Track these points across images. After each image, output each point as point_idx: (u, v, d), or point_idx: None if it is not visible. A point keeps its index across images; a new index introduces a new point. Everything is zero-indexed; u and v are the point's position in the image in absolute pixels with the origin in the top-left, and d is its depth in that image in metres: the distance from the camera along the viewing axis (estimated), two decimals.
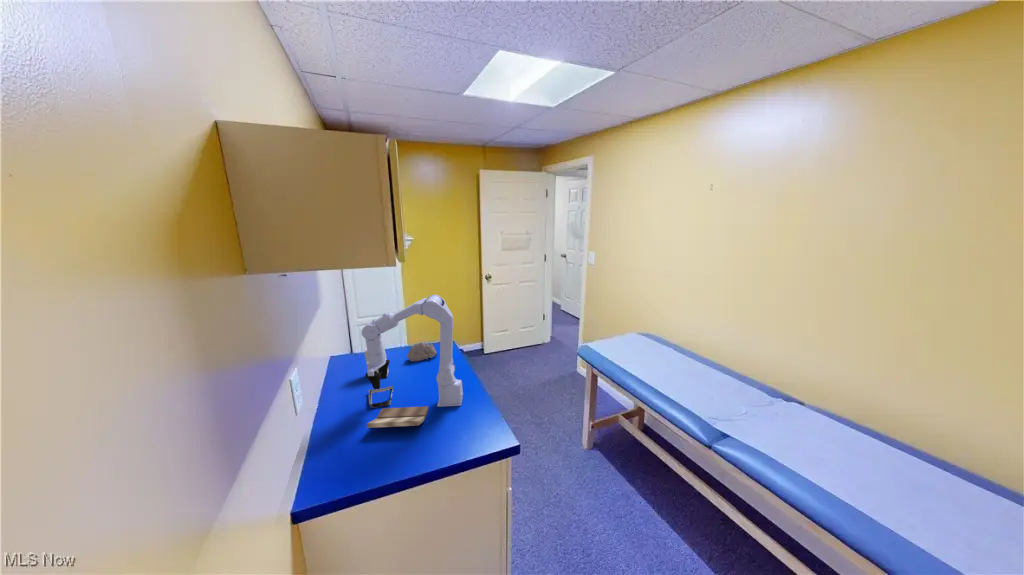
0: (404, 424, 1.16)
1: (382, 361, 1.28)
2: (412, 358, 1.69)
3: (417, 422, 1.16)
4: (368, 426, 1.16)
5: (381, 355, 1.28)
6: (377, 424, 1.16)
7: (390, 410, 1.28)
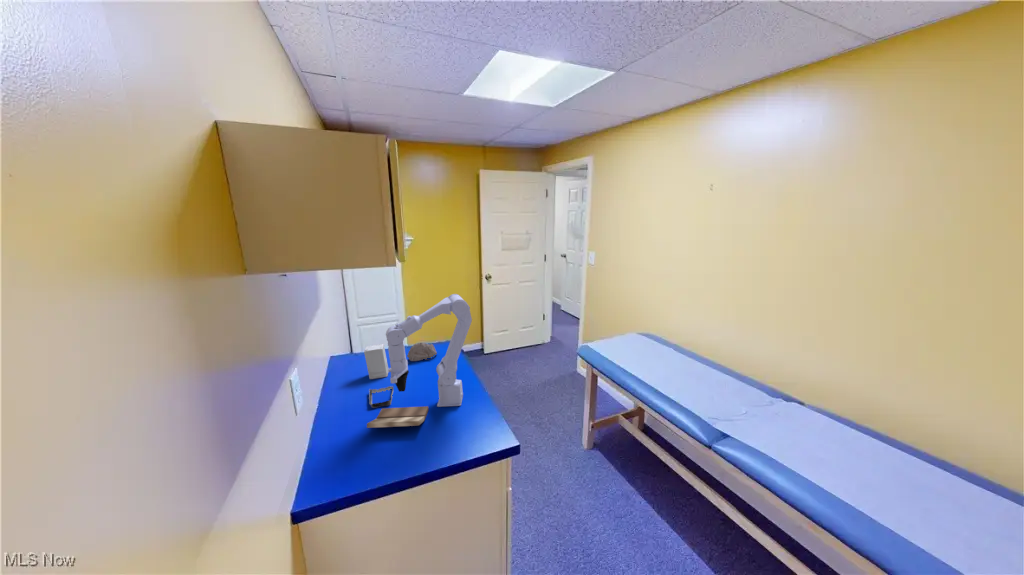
0: (404, 424, 1.16)
1: (404, 367, 1.24)
2: (412, 358, 1.69)
3: (417, 422, 1.16)
4: (368, 426, 1.16)
5: (404, 361, 1.23)
6: (377, 424, 1.16)
7: (390, 410, 1.28)
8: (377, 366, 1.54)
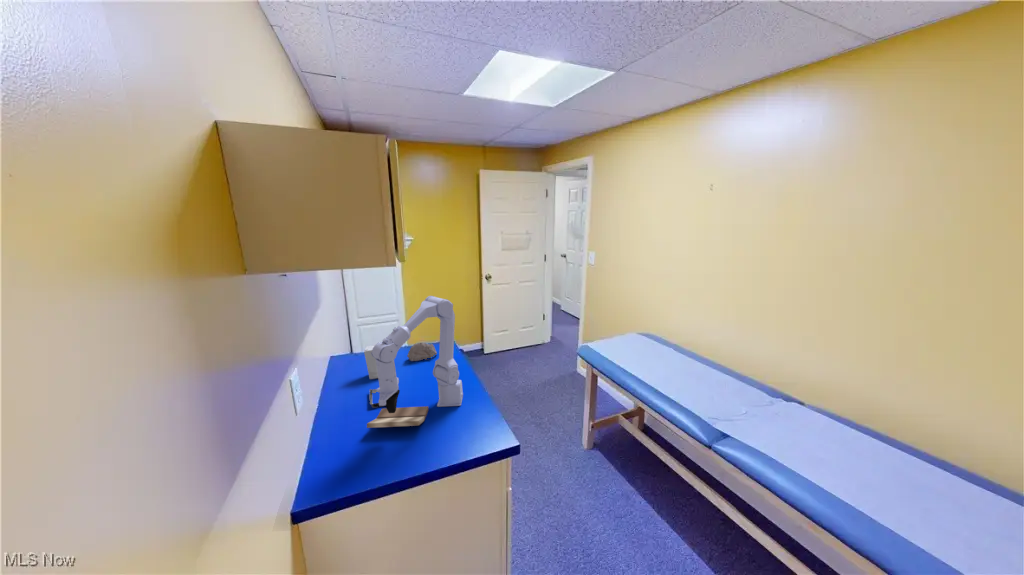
0: (404, 424, 1.16)
1: (395, 387, 1.12)
2: (412, 358, 1.70)
3: (417, 422, 1.16)
4: (368, 426, 1.16)
5: (394, 380, 1.12)
6: (377, 424, 1.16)
7: None
8: None
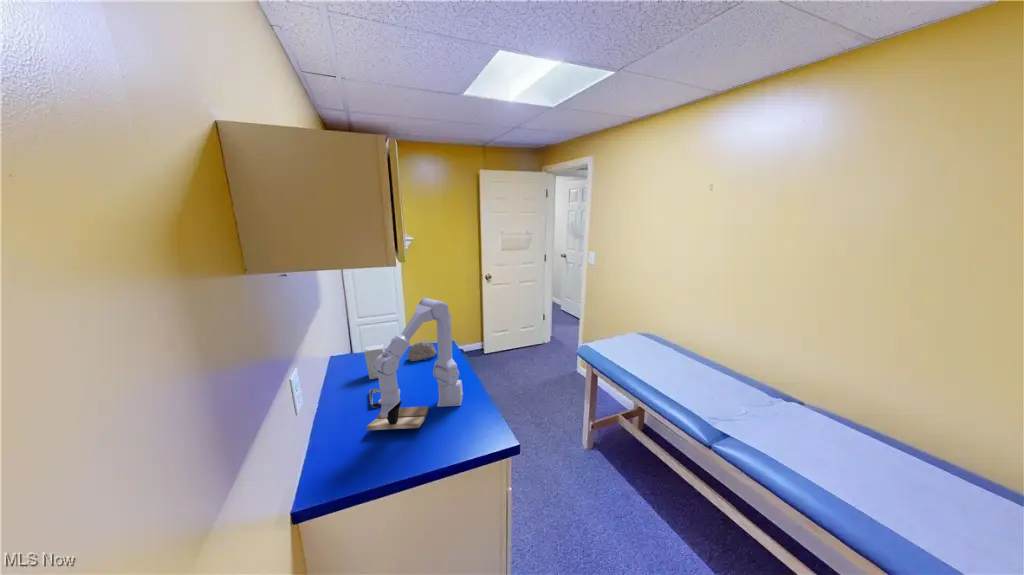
0: (404, 426, 1.16)
1: (396, 399, 1.13)
2: (412, 358, 1.70)
3: (417, 424, 1.16)
4: (368, 428, 1.15)
5: (395, 392, 1.13)
6: (377, 426, 1.16)
7: None
8: None
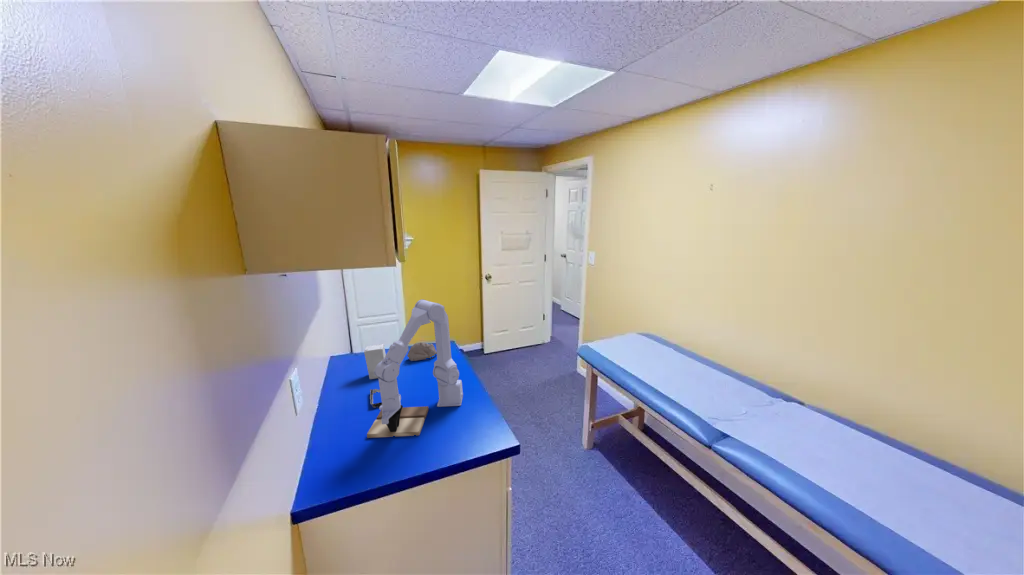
0: (404, 434, 1.16)
1: (397, 405, 1.14)
2: (412, 357, 1.70)
3: (417, 432, 1.16)
4: (368, 436, 1.16)
5: (396, 399, 1.13)
6: (377, 434, 1.15)
7: None
8: None
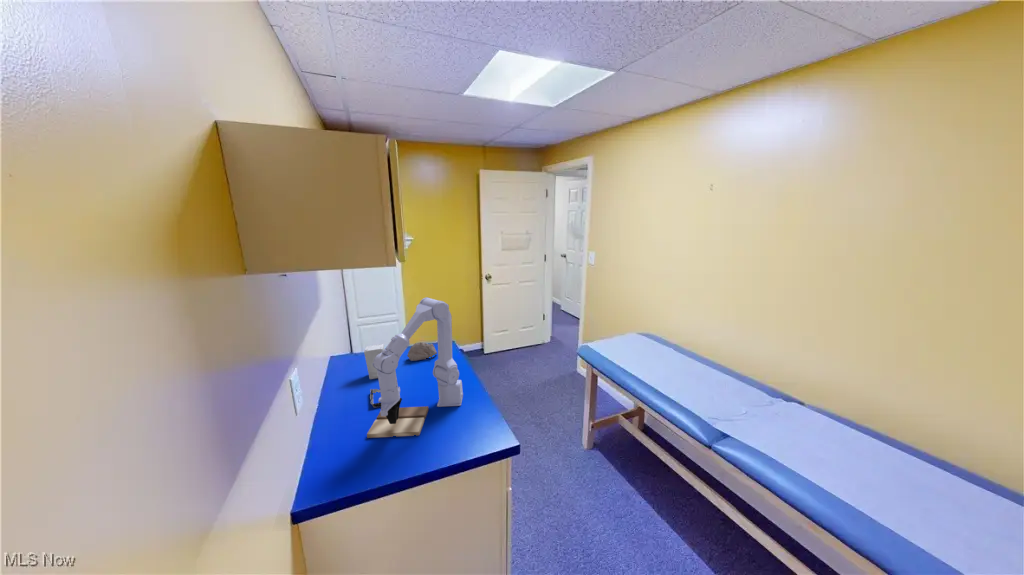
0: (404, 434, 1.16)
1: (396, 397, 1.13)
2: (412, 357, 1.70)
3: (417, 432, 1.16)
4: (368, 436, 1.16)
5: (395, 391, 1.13)
6: (377, 434, 1.15)
7: None
8: None
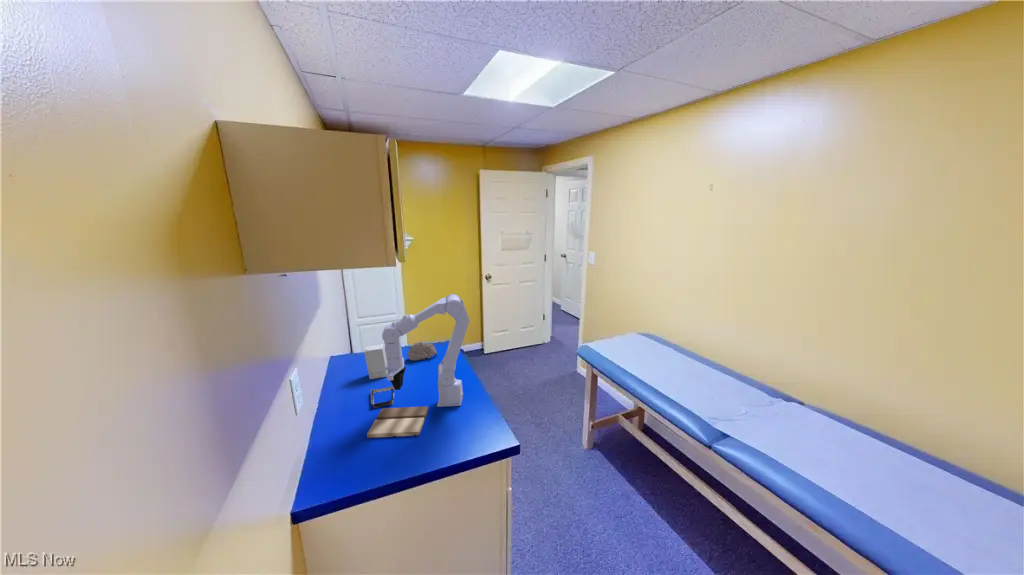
0: (404, 434, 1.16)
1: (401, 365, 1.26)
2: (412, 357, 1.70)
3: (417, 432, 1.16)
4: (368, 436, 1.16)
5: (400, 359, 1.25)
6: (377, 434, 1.15)
7: (390, 410, 1.28)
8: (377, 366, 1.54)
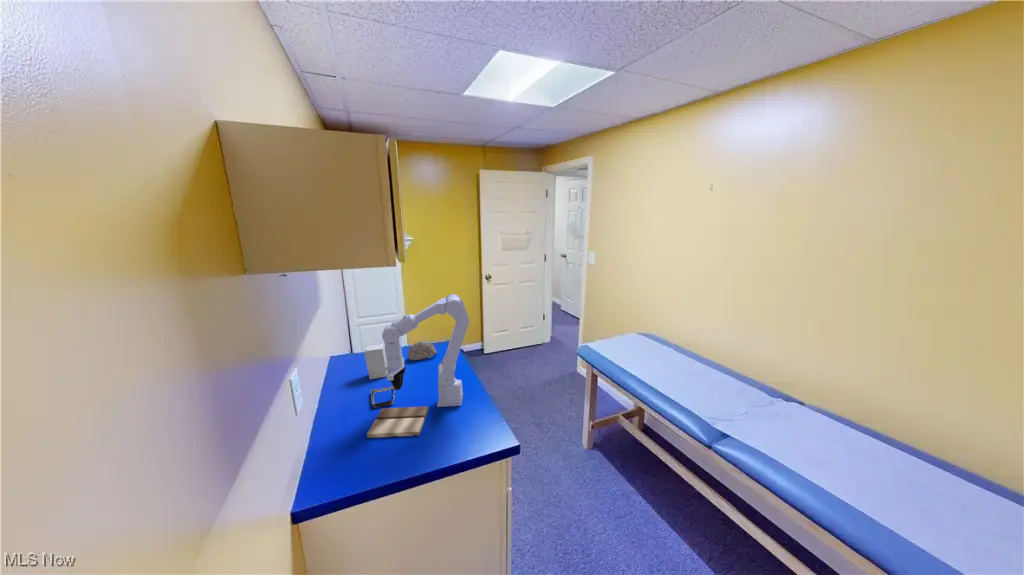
0: (404, 434, 1.16)
1: (401, 365, 1.26)
2: (412, 357, 1.70)
3: (417, 432, 1.16)
4: (368, 436, 1.16)
5: (400, 359, 1.25)
6: (377, 434, 1.15)
7: (390, 410, 1.28)
8: (377, 366, 1.54)
